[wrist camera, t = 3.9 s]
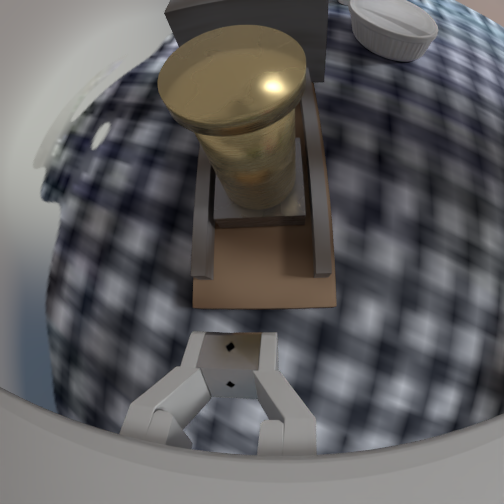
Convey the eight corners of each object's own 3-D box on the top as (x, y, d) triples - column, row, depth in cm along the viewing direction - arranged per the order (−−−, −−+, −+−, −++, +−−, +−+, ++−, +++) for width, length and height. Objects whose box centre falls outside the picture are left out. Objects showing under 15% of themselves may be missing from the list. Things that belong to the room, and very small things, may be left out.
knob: (223, 156, 23) (171, 37, 11) (299, 152, 22) (297, 20, 10) (220, 228, 21) (144, 129, 10) (304, 224, 21) (315, 111, 9)
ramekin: (357, 64, 26) (363, 29, 21) (337, 17, 29) (339, -13, 24) (440, 74, 25) (453, 45, 20) (410, 26, 28) (417, -1, 22)
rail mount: (208, 67, 28) (178, -16, 17) (315, 59, 27) (315, -30, 15) (188, 308, 23) (96, 294, 11) (345, 306, 21) (402, 291, 10)
